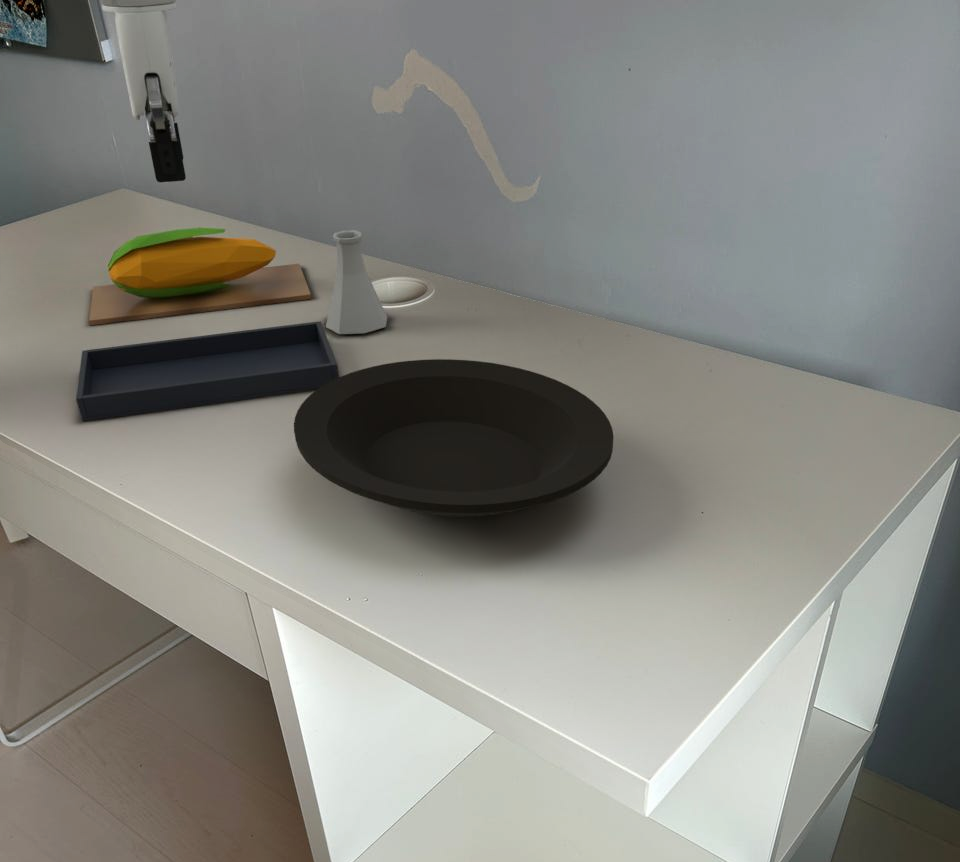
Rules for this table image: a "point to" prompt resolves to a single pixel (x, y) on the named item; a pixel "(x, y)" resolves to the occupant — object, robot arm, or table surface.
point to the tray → (203, 370)
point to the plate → (453, 436)
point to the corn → (184, 262)
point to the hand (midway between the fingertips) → (170, 170)
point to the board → (202, 297)
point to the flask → (353, 290)
